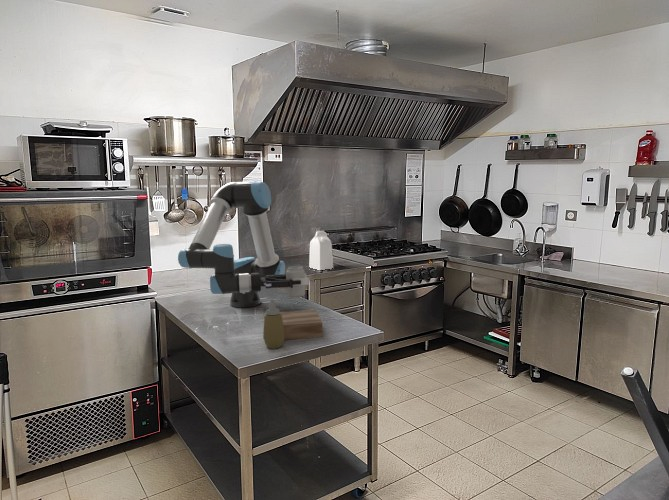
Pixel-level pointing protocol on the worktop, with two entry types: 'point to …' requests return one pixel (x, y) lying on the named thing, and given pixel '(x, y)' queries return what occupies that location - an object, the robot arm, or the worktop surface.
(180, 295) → the worktop surface
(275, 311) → the squeeze bottle
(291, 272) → the can
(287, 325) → the walnut block
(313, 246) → the milk
